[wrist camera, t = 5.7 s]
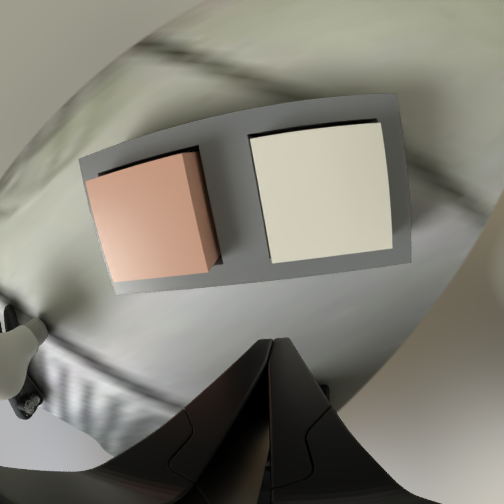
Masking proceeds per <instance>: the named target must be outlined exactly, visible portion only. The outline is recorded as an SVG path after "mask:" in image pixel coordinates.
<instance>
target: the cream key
mask: <svg viewBox="0 0 504 504" xmlns="http://www.w3.org/2000/svg"><path fill="white" fill-rule="evenodd" d="M250 142H251V147H252V153H253V158H254V164H255V169H256V175H257V180H258V186H259V191H260V197H261V202H262V208H263V214H264V219H265V225H266V231H267V237H268V242H269V248H270V254H271V260H272V264H273V263H281V262H289V261H297V260H306V259H314V258H322V257H330V256H337V255H345V254H353V253H361V252H368V251H376V250H384V249H391V248H393V247H392V223H391V207H390V194H389V183H388V173H387V164H386V156H385V148H384V141H383V134H382V128H381V123H369V124H357V125H346V126H336V127H327V128H318V129H310V130H303V131H295V132H289V133H282V134H276V135H269V136H264V137H258V138H252V139H250Z"/></svg>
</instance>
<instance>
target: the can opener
mask: <svg viewBox="0 0 504 504" xmlns="http://www.w3.org/2000/svg"><path fill="white" fill-rule="evenodd" d="M4 322H5V329H6V332H9V331H11V330H13V329H15V328H16V327H18V323H17V319H16V315H15V313H14V311H13V309H12V308H11V307H10V306H6V307H5V309H4ZM0 333H2V328H1V323H0ZM8 400H9V402H10V404H11V406H12V408H13V410H14V412H15V414H16V415H17V416H18V417H19V418H21V419H24V420H27V419H29V418H30V417H31V416H32V414H33V413H34V412H35V411H36V409H37V407H38V406H39V405H40V404H42V402H43V395H42V393H41V391H40V390H39V388H38V387H37V386H36V384H35V383H34V382H33V381H32V380H31V379H30V378H29V376H28V375H27V373H26V378H25V381H24V385H23V387H22V389H21V391H20V392H19V393H18V394H17V395H15V396H14V397H12V398H10V399H8Z"/></svg>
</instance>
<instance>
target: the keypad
mask: <svg viewBox="0 0 504 504" xmlns="http://www.w3.org/2000/svg"><path fill="white" fill-rule="evenodd" d="M369 123H381V128H382V134H383V141H384V148H385V156H386V164H387V173H388V183H389V194H390V207H391V223H392V247H393V248H391V249H384V250H376V251H368V252H361V253H353V254H345V255H337V256H330V257H322V258H314V259H306V260H297V261H289V262H281V263H273V264H272V260H271V254H270V248H269V242H268V237H267V231H266V225H265V219H264V214H263V208H262V202H261V197H260V191H259V186H258V180H257V175H256V169H255V164H254V158H253V153H252V147H251V142H250V139H252V138H258V137H259V136H265V135H271V134H277V133H284V132H290V131H297V130H305V129H312V128H320V127H329V126H338V125H348V124H369ZM195 149H199V150H200V155H201V160H202V165H203V170H204V175H205V180H206V185H207V190H208V195H209V199H210V204H211V209H212V214H213V218H214V223H215V228H216V232H217V237H218V241H219V246H220V250H221V254H220V256H219V257H218V259H217V260H216V262H215V263H214V265H213V266H212V268H211V269H210V271H209V272H207V273H198V274H189V275H180V276H170V277H161V278H151V279H142V280H132V281H122V282H113V280H112V277H111V274H110V270H109V267H108V264H107V261H106V258H105V255H104V251H103V248H102V245H101V241H100V238H99V234H98V231H97V227H96V224H95V220H94V216H93V212H92V208H91V204H90V200H89V196H88V192H87V187H86V183H85V181H88V180H91V179H94V178H97V177H100V176H103V175H106V174H110V173H113V172H116V171H119V170H122V169H126V168H129V167H131V166H134V165H138V164H141V163H145V162H148V161H152V160H156V159H159V158H163V157H167V156H171V155H175V154H179V153H183V152H187V151H191V150H195ZM79 164H80V169H81V173H82V178H83V183H84V187H85V192H86V196H87V200H88V204H89V208H90V212H91V216H92V220H93V224H94V227H95V231H96V234H97V238H98V241H99V245H100V248H101V251H102V255H103V258H104V261H105V264H106V267H107V270H108V273H109V276H110V279H111V282H112V285H113V288H114V291H115V294H116V295H122V294H135V293H148V292H160V291H172V290H183V289H194V288H205V287H215V286H225V285H235V284H245V283H254V282H263V281H272V280H281V279H290V278H299V277H307V276H315V275H323V274H331V273H339V272H347V271H355V270H362V269H370V268H377V267H384V266H391V265H398V264H405V263H411V214H410V196H409V183H408V172H407V162H406V153H405V145H404V138H403V131H402V125H401V118H400V112H399V107H398V101H397V96H396V93H381V94H362V95H348V96H337V97H327V98H318V99H309V100H301V101H294V102H287V103H281V104H275V105H269V106H263V107H257V108H252V109H247V110H242V111H237V112H232V113H227V114H223V115H218V116H214V117H210V118H205V119H201V120H197V121H193V122H189V123H186V124H182V125H178V126H175V127H171V128H167V129H164V130H161V131H157V132H154V133H151V134H147V135H144V136H141V137H138V138H135V139H132V140H129V141H126V142H123V143H120V144H117V145H114V146H111V147H109V148H106V149H103V150H101V151H98V152H95V153H93V154H90V155H87V156H85V157H82V158H80V159H79Z"/></svg>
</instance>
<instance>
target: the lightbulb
mask: <svg viewBox="0 0 504 504" xmlns="http://www.w3.org/2000/svg"><path fill="white" fill-rule="evenodd" d="M47 337H48V331H47V328H46V325H45V323H44V322H42V321H41V320H39V319H37V318H33V319H31V320H30V321H28V322H27V323H25V324H24V325H20V326H18V327H16V328H15V329H13V330H11V331H9V332H5V333H0V400H6V399H10V398H12V397H14V396H15V395H17V394H18V393H19V392H20V391H21V389H22V387H23V385H24V381H25V378H26V373H27V368H28V365H29V362H30V360H31V359H32V357H33V355H34V354H35V353H36V352H37V351H38V347H39V346H40V345H41V344H42V343H43V342H44V341H45V339H46V338H47Z"/></svg>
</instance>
